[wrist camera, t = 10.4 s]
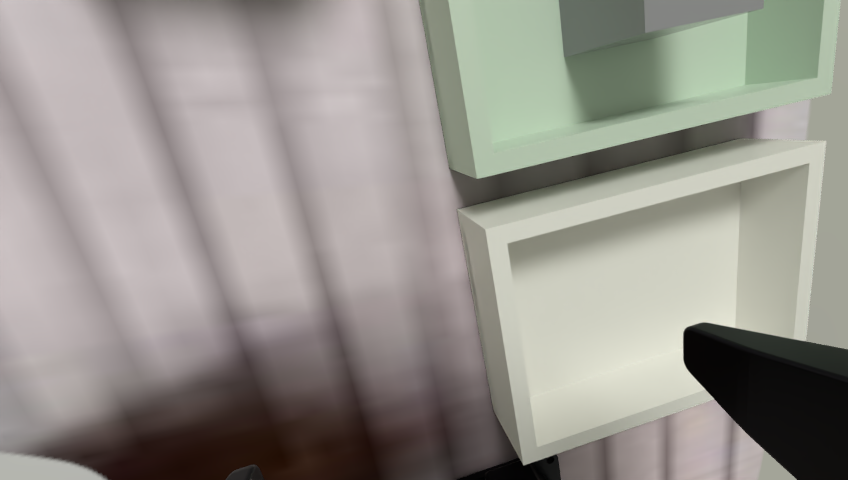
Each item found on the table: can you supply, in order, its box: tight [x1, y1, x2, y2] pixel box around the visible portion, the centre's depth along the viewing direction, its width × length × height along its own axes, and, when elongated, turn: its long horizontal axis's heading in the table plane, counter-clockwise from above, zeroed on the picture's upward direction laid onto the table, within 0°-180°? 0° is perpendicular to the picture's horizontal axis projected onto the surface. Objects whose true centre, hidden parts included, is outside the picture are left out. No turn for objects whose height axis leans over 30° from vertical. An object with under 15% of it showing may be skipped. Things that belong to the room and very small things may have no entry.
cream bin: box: [457, 138, 826, 466], centre depth 21 cm, size 12×16×4 cm
